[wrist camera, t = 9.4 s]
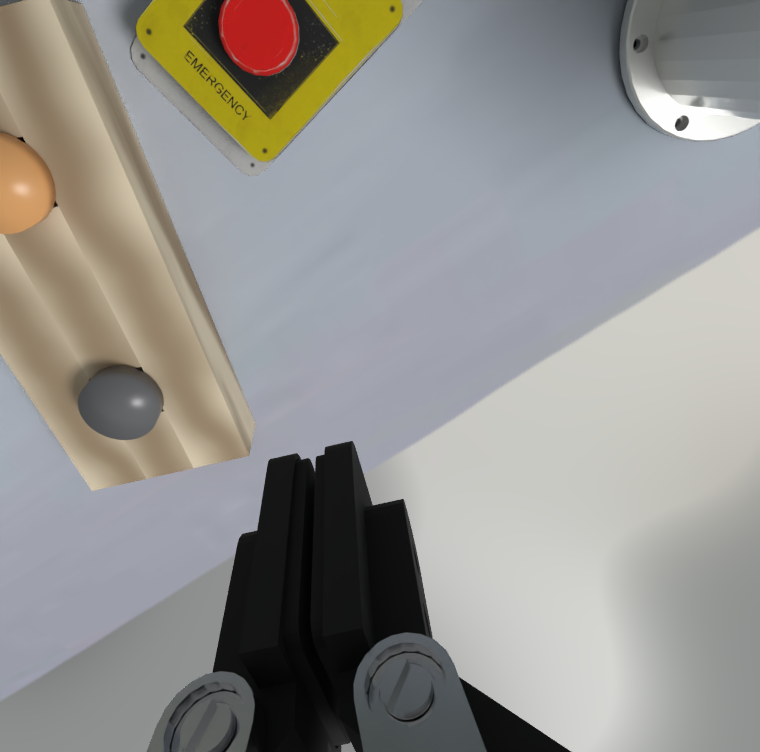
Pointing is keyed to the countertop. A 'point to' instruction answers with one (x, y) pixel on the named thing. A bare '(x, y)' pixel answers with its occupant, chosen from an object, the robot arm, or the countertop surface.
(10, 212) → the orange knob
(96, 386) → the gray knob
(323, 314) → the countertop surface
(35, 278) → the control block
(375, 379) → the countertop surface
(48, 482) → the countertop surface
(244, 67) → the emergency button
